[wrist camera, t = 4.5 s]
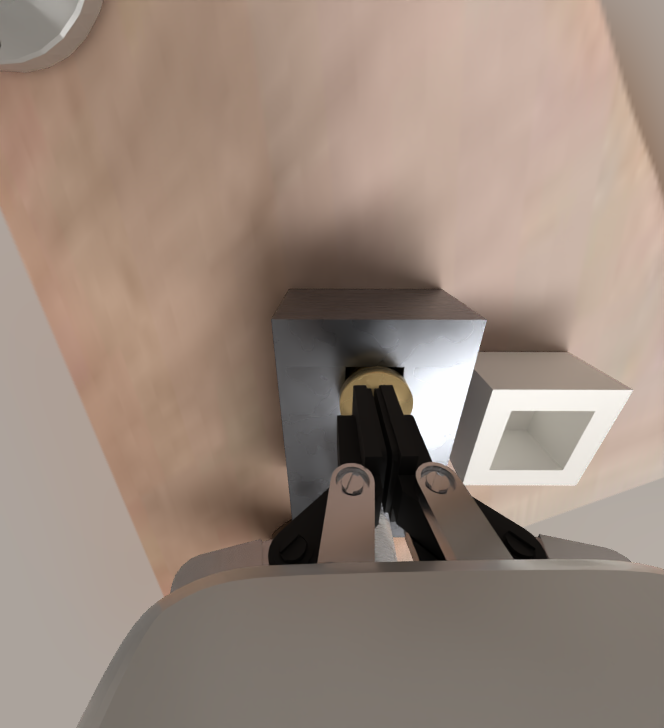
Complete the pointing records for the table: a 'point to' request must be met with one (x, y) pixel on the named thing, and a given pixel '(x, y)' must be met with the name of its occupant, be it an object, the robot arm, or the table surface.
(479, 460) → the holder
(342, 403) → the key
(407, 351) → the socket block
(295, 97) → the table surface
